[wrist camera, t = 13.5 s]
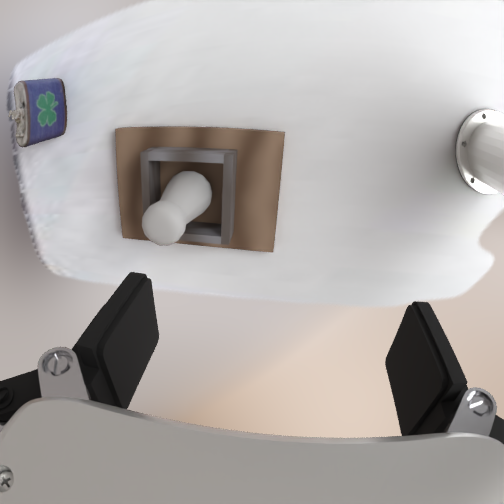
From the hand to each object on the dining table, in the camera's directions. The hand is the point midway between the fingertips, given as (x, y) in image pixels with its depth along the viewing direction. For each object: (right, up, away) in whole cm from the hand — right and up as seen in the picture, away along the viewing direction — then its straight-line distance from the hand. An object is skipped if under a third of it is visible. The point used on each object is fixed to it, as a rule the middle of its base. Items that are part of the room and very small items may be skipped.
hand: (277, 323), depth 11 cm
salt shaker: (-8, +11, +30) cm, 33 cm away
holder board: (-8, +11, +31) cm, 34 cm away
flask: (-29, +24, +27) cm, 46 cm away
